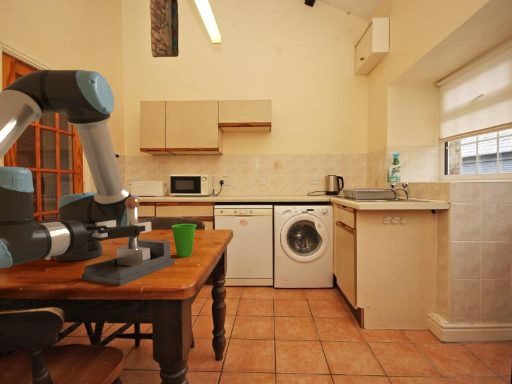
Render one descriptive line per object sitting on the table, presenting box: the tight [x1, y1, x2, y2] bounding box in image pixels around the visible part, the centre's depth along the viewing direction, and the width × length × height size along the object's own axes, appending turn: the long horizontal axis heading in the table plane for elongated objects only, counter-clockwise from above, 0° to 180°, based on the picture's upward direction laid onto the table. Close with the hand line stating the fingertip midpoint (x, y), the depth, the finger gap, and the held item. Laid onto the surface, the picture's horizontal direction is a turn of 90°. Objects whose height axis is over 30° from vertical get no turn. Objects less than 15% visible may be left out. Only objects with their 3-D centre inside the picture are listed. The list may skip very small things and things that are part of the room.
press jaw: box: [116, 197, 150, 266], centre depth 85 cm, size 4×10×20 cm, turn 68°
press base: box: [81, 238, 176, 287], centre depth 84 cm, size 22×14×8 cm, turn 158°
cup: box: [170, 223, 197, 258], centre depth 102 cm, size 9×9×11 cm
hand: (132, 225), depth 84 cm, fingers open, 13 cm apart
